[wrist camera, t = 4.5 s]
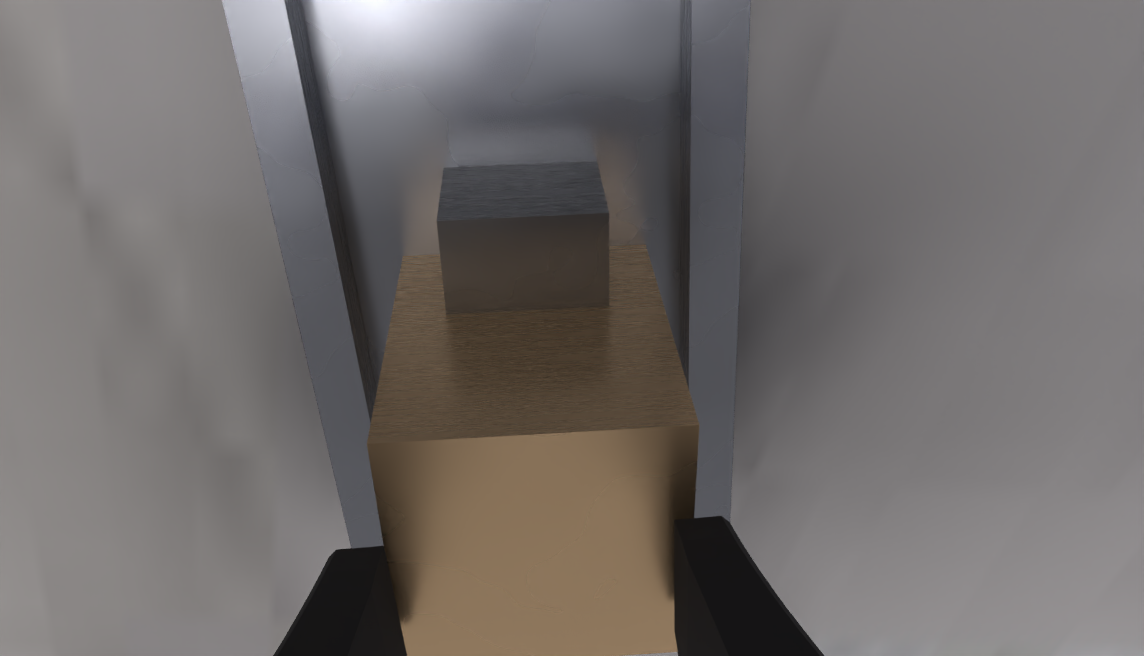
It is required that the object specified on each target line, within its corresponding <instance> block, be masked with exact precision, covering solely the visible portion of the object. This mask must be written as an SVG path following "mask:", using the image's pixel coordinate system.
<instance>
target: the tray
mask: <svg viewBox="0 0 1144 656" xmlns="http://www.w3.org/2000/svg"><path fill="white" fill-rule="evenodd" d="M222 3H223V7H224V11H225V15H226V20H227V24H228V28H229V32H230V36H231V41H232V45H233V49H234V53H235V58H236V62H237V66H238V70H239V75H240V79H241V83H242V87H243V91H244V96H245V100H246V104H247V108H248V113H249V117H250V121H251V125H252V130H253V134H254V138H255V142H256V146H257V151H258V155H259V159H260V163H261V168H262V172H263V176H264V180H265V185H266V189H267V193H268V197H269V201H270V206H271V210H272V214H273V218H274V223H275V227H276V231H277V235H278V239H279V244H280V248H281V252H282V256H283V261H284V265H285V269H286V273H287V278H288V282H289V286H290V290H291V294H292V299H293V303H294V307H295V311H296V316H297V320H298V324H299V328H300V333H301V337H302V341H303V345H304V349H305V354H306V358H307V362H308V366H309V371H310V375H311V379H312V383H313V388H314V392H315V396H316V400H317V404H318V409H319V413H320V417H321V421H322V426H323V430H324V434H325V438H326V443H327V447H328V451H329V455H330V459H331V464H332V468H333V472H334V476H335V481H336V485H337V489H338V493H339V498H340V502H341V506H342V510H343V514H344V519H345V523H346V527H347V531H348V536H349V540H350V544H351V548H362V547H374V546H384V545H383V539H382V533H381V527H380V521H379V515H378V509H377V503H376V497H375V491H374V485H373V479H372V473H371V467H370V461H369V454H368V448H367V440H368V435H369V430H370V425H371V419H372V414H373V409H374V404H375V399H376V393H377V388H378V383H379V378H380V373H381V367H382V362H383V357H384V352H385V347H386V341H387V336H388V331H389V326H390V321H391V316H392V310H393V305H394V300H395V295H396V290H397V284H398V279H399V274H400V269H401V264H402V258H403V256H416V255H437V254H440V250H439V241H438V231H437V213H438V206H439V199H440V191H441V184H442V176H443V169H444V168H447V167H470V166H493V165H516V164H539V163H561V162H584V161H597V164H598V168H599V172H600V176H601V181H602V185H603V189H604V193H605V197H606V201H607V206H608V210H609V246H626V245H646V248H647V251H648V254H649V258H650V261H651V264H652V268H653V271H654V274H655V278H656V281H657V284H658V288H659V291H660V294H661V298H662V301H663V305H664V308H665V311H666V315H667V318H668V321H669V325H670V328H671V331H672V335H673V338H674V341H675V345H676V348H677V351H678V355H679V358H680V361H681V365H682V368H683V371H684V375H685V378H686V382H687V385H688V388H689V392H690V395H691V398H692V402H693V405H694V408H695V412H696V415H697V418H698V422H699V425H700V426H699V443H698V460H697V477H696V494H695V511H694V518H701V517H713V516H722V517H724V518H725V519H726V520H727V521H729V522H730V513H731V487H732V462H733V436H734V411H735V385H736V360H737V335H738V309H739V284H740V258H741V233H742V207H743V182H744V156H745V131H746V105H747V80H748V54H749V29H750V4H751V0H222Z"/></svg>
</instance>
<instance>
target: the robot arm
mask: <svg viewBox="0 0 1144 656" xmlns="http://www.w3.org/2000/svg"><path fill="white" fill-rule="evenodd" d="M674 631H675V638H676V644H677V650H678V656H824V655H823V654H822V652H821V651H820V650H819V649H818V647H817V646H816V645H815V644H814V642H813V641H812V640H811V639H810V637H809V636H808V635H807V633H806V632H805V631H804V630H803V628H802V627H801V626H800V625H799V623H798V622H797V621H796V619H795V618H794V617H793V616H792V614H791V613H790V612H789V610H788V609H787V608H786V606H785V605H784V604H783V602H782V601H781V600H780V598H779V597H778V596H777V594H776V593H775V591H774V590H773V589H772V587H771V586H770V584H769V583H768V581H767V580H766V579H765V577H764V576H763V574H762V573H761V572H760V570H759V569H758V567H757V566H756V564H755V563H754V561H753V560H752V558H751V557H750V555H749V554H748V552H747V550H746V549H745V547H744V546H743V544H742V542H741V541H740V539H739V538H738V536H737V534H736V533H735V531H734V529H733V527H732V526H731V524H730V522H729V521H727V520H726V519H725V518H724V517H722V516H713V517H701V518H690V519H679V520H674ZM273 656H407V652H406V647H405V643H404V638H403V633H402V629H401V624H400V619H399V614H398V610H397V605H396V600H395V596H394V591H393V586H392V581H391V577H390V572H389V567H388V563H387V558H386V553H385V548H384V546H374V547H362V548H351V549H340V550H336V551H335V552H334V553H333V554H332V555H331V556H330V557H329V558H328V560H327V562H326V564H325V566H324V568H323V570H322V572H321V574H320V576H319V577H318V579H317V581H316V583H315V585H314V587H313V589H312V590H311V592H310V594H309V596H308V598H307V600H306V601H305V603H304V605H303V607H302V608H301V610H300V612H299V614H298V615H297V617H296V619H295V621H294V622H293V624H292V626H291V627H290V629H289V631H288V633H287V634H286V636H285V638H284V639H283V641H282V643H281V644H280V646H279V647H278V649H277V651H276V652H275V654H274V655H273Z"/></svg>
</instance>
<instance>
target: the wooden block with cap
mask: <svg viewBox="0 0 1144 656" xmlns="http://www.w3.org/2000/svg"><path fill="white" fill-rule="evenodd" d="M437 231H438V241H439V250H440V254H437V255H416V256H403V258H402V264H401V269H400V274H399V279H398V284H397V290H396V295H395V300H394V305H393V310H392V316H391V321H390V326H389V331H388V336H387V341H386V347H385V352H384V357H383V362H382V367H381V373H380V378H379V383H378V388H377V393H376V399H375V404H374V409H373V414H372V419H371V425H370V430H369V435H368V440H367V448H368V454H369V461H370V467H371V473H372V479H373V485H374V491H375V497H376V503H377V509H378V515H379V521H380V527H381V533H382V539H383V545H384V548H385V553H386V558H387V563H388V567H389V572H390V577H391V581H392V586H393V591H394V596H395V600H396V605H397V610H398V614H399V619H400V624H401V629H402V633H403V638H404V643H405V647H406V652H407V656H621V655H636V654H651V653H666V652H678V650H677V644H676V638H675V631H674V520H679V519H690V518H694V511H695V494H696V477H697V460H698V443H699V426H700V425H699V422H698V418H697V415H696V412H695V408H694V405H693V402H692V398H691V395H690V392H689V388H688V385H687V382H686V378H685V375H684V371H683V368H682V365H681V361H680V358H679V355H678V351H677V348H676V345H675V341H674V338H673V335H672V331H671V328H670V325H669V321H668V318H667V315H666V311H665V308H664V305H663V301H662V298H661V294H660V291H659V288H658V284H657V281H656V278H655V274H654V271H653V268H652V264H651V261H650V258H649V254H648V251H647V248H646V245H626V246H609V210H608V206H607V201H606V197H605V193H604V189H603V185H602V181H601V176H600V172H599V168H598V164H597V161H584V162H561V163H539V164H516V165H493V166H470V167H447V168H444V169H443V176H442V184H441V191H440V199H439V206H438V213H437Z"/></svg>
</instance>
